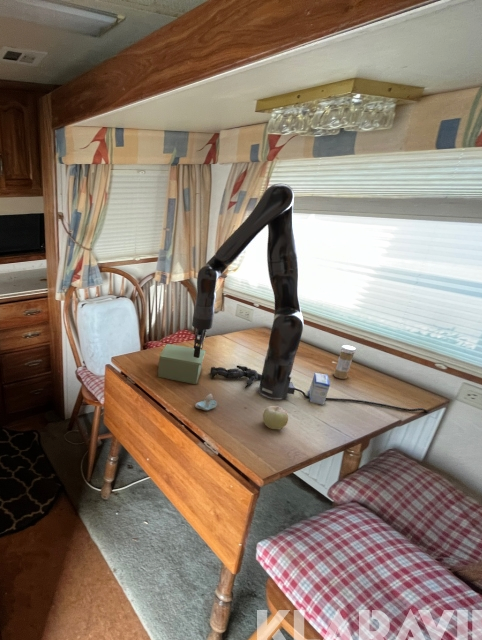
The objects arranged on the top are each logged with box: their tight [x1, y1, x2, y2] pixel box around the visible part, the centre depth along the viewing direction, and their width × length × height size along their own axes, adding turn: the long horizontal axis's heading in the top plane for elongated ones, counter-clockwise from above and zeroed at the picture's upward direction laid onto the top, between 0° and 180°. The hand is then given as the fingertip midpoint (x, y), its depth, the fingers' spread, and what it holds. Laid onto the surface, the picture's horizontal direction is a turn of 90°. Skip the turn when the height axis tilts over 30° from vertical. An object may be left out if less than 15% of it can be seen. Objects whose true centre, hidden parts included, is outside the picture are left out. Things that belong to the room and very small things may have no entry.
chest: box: [157, 358, 203, 385], centre depth 150 cm, size 16×14×9 cm
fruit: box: [262, 405, 289, 430], centre depth 116 cm, size 8×7×8 cm
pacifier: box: [194, 393, 218, 411], centre depth 127 cm, size 7×6×6 cm
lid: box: [159, 343, 207, 365], centre depth 147 cm, size 16×14×5 cm
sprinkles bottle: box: [333, 344, 356, 380], centre depth 145 cm, size 5×5×13 cm
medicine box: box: [308, 372, 331, 405], centre depth 131 cm, size 8×4×9 cm, turn 152°
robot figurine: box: [210, 365, 262, 389], centre depth 146 cm, size 18×4×20 cm
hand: (198, 352), depth 145 cm, fingers open, 8 cm apart
